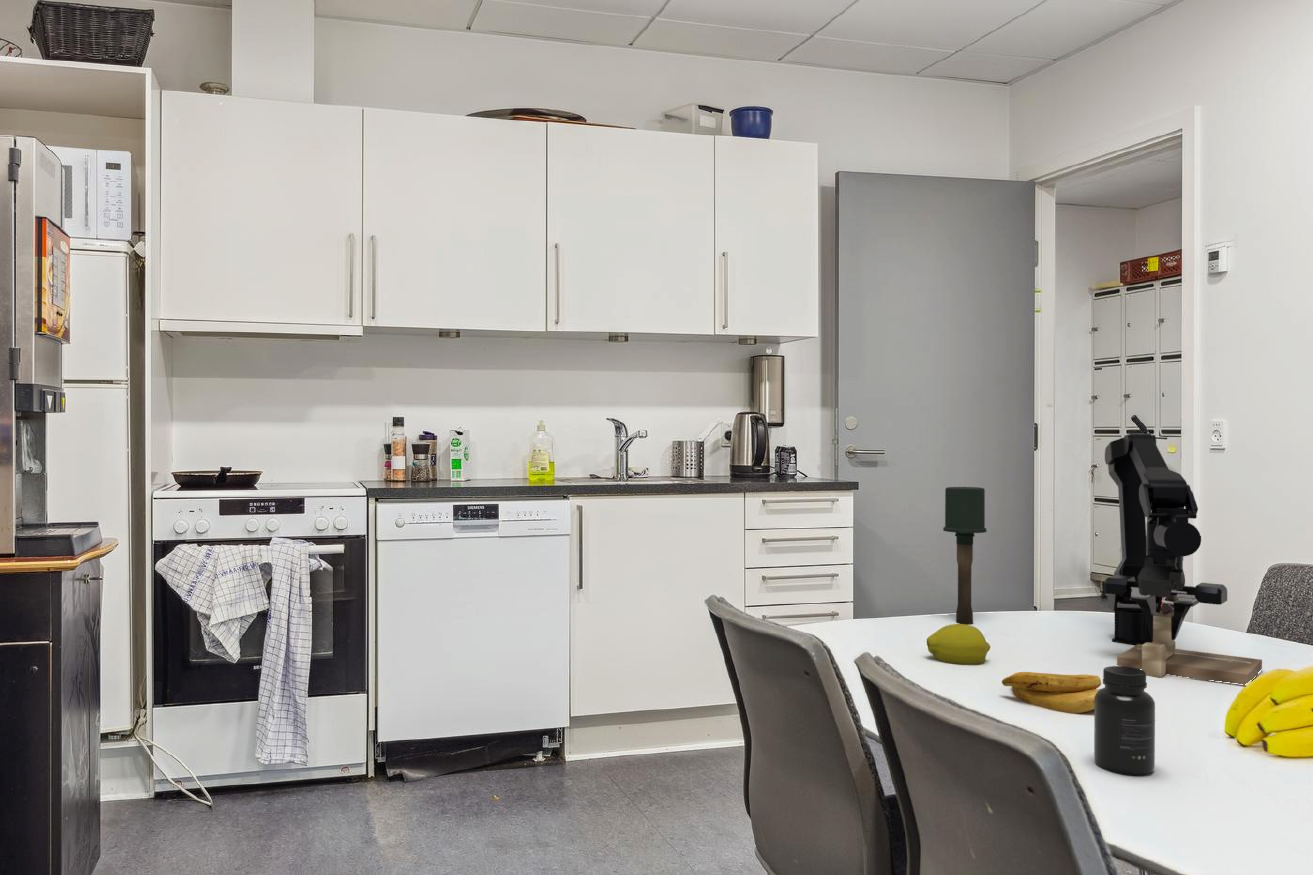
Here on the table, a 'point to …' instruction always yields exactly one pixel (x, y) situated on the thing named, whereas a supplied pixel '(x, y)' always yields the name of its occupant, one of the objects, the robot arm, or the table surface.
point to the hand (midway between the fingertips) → (1163, 638)
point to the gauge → (1158, 646)
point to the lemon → (958, 645)
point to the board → (1200, 665)
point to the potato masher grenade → (964, 538)
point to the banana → (1055, 690)
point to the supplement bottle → (1124, 722)
